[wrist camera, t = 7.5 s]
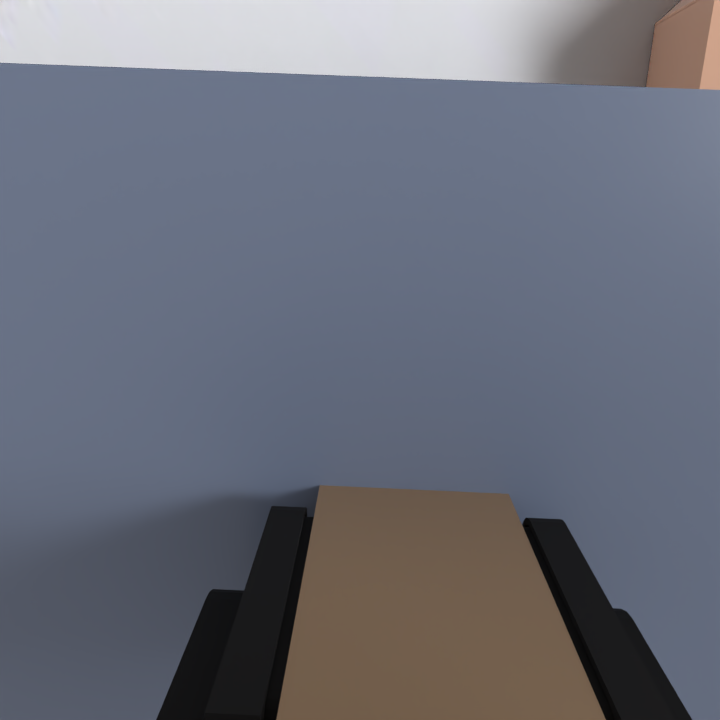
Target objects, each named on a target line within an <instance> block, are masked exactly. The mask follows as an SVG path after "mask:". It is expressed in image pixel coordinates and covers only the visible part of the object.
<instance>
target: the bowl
mask: <svg viewBox="0 0 720 720" xmlns="http://www.w3.org/2000/svg"><path fill="white" fill-rule="evenodd" d="M654 26H655V29H654V36H653V43H652V49H651V56H650V63H649V70H648V76H647V83H646V87H655V88H682V89H709V90H720V0H681V1H680V2H679V3H678V4H677V5H676V6H674V7H673V8H672V9H671V10H670V11H669V12H668V13H667V14H666V15H665V16H664V17H663V18H661V19H660V20H659V21H658V22H656V23H655V25H654Z"/></svg>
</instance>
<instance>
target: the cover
mask: <svg viewBox="0 0 720 720" xmlns="http://www.w3.org/2000/svg"><path fill="white" fill-rule="evenodd" d="M272 506H287V507H306V508H307V517H314V519H313V524H312V530H311V535H310V541H309V546H308V551H307V557H306V562H305V568H304V573H303V578H302V584H301V589H300V595H299V600H298V605H297V611H296V616H295V622H294V627H293V632H292V638H291V643H290V649H289V654H288V660H287V665H286V670H285V676H284V681H283V687H282V692H281V697H280V703H279V708H278V714H277V719H276V720H606V719H605V717H604V714H603V712H602V710H601V707H600V705H599V703H598V700H597V698H596V696H595V693H594V691H593V689H592V686H591V684H590V682H589V679H588V677H587V675H586V672H585V670H584V668H583V665H582V663H581V661H580V658H579V656H578V654H577V652H576V649H575V647H574V645H573V642H572V640H571V638H570V635H569V633H568V631H567V628H566V626H565V624H564V621H563V619H562V617H561V614H560V612H559V610H558V607H557V605H556V603H555V600H554V598H553V596H552V593H551V591H550V589H549V586H548V584H547V582H546V579H545V577H544V575H543V572H542V570H541V568H540V565H539V563H538V561H537V559H536V556H535V554H534V552H533V549H532V547H531V545H530V542H529V540H528V538H527V535H526V533H525V531H524V528H523V526H522V524H523V521H524V519H525V518H547V519H562V520H563V521H564V522H565V523H566V525H567V527H568V529H569V531H570V532H571V534H572V536H573V538H574V539H575V541H576V543H577V545H578V547H579V548H580V550H581V552H582V554H583V556H584V557H585V559H586V561H587V563H588V565H589V566H590V568H591V570H592V572H593V573H594V575H595V577H596V579H597V581H598V582H599V584H600V586H601V588H602V590H603V591H604V593H605V595H606V597H607V599H608V600H609V602H610V604H611V606H612V608H617V609H623V610H625V611H627V612H628V613H629V615H630V616H631V617H632V619H633V620H634V622H635V624H636V625H637V627H638V629H639V630H640V632H641V634H642V635H643V637H644V639H645V641H646V642H647V644H648V646H649V647H650V649H651V651H652V652H653V654H654V656H655V657H656V659H657V661H658V663H659V664H660V666H661V668H662V669H663V671H664V673H665V674H666V676H667V678H668V679H669V681H670V683H671V685H672V686H673V688H674V690H675V691H676V693H677V695H678V696H679V698H680V700H681V702H682V703H683V705H684V707H685V708H686V710H687V712H688V713H689V715H690V717H691V718H692V720H720V90H709V89H682V88H655V87H629V86H602V85H575V84H549V83H522V82H495V81H469V80H442V79H415V78H389V77H362V76H335V75H309V74H282V73H255V72H229V71H202V70H175V69H149V68H122V67H95V66H69V65H42V64H16V63H0V720H156V719H157V717H158V714H159V712H160V709H161V707H162V704H163V702H164V700H165V697H166V695H167V692H168V690H169V687H170V685H171V682H172V680H173V678H174V675H175V673H176V670H177V668H178V665H179V663H180V660H181V658H182V656H183V653H184V651H185V648H186V646H187V643H188V641H189V638H190V636H191V634H192V631H193V629H194V626H195V624H196V621H197V619H198V616H199V614H200V612H201V609H202V607H203V604H204V602H205V599H206V597H207V595H208V593H209V591H211V590H212V589H223V590H244V589H245V586H246V583H247V580H248V577H249V574H250V571H251V568H252V564H253V561H254V558H255V555H256V552H257V549H258V546H259V543H260V540H261V537H262V534H263V530H264V527H265V524H266V521H267V518H268V515H269V512H270V509H271V507H272Z"/></svg>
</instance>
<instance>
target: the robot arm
mask: <svg viewBox="0 0 720 720" xmlns="http://www.w3.org/2000/svg"><path fill="white" fill-rule="evenodd" d="M313 519H314V517H307V508H306V507H287V506H272V507H271V509H270V512H269V515H268V518H267V521H266V524H265V527H264V530H263V534H262V537H261V540H260V543H259V546H258V549H257V552H256V555H255V558H254V561H253V564H252V568H251V571H250V574H249V577H248V580H247V583H246V586H245V589H244V590H223V589H212V590H211V591H209V593H208V595H207V597H206V599H205V602H204V604H203V607H202V609H201V612H200V614H199V616H198V619H197V621H196V624H195V626H194V629H193V631H192V634H191V636H190V638H189V641H188V643H187V646H186V648H185V651H184V653H183V656H182V658H181V660H180V663H179V665H178V668H177V670H176V673H175V675H174V678H173V680H172V682H171V685H170V687H169V690H168V692H167V695H166V697H165V700H164V702H163V704H162V707H161V709H160V712H159V714H158V717H157V719H156V720H276V719H277V714H278V708H279V703H280V697H281V692H282V687H283V681H284V676H285V670H286V665H287V660H288V654H289V649H290V643H291V638H292V632H293V627H294V622H295V616H296V611H297V605H298V600H299V595H300V589H301V584H302V578H303V573H304V568H305V562H306V557H307V551H308V546H309V541H310V535H311V530H312V524H313ZM522 526H523V528H524V531H525V533H526V535H527V538H528V540H529V542H530V545H531V547H532V549H533V552H534V554H535V556H536V559H537V561H538V563H539V565H540V568H541V570H542V572H543V575H544V577H545V579H546V582H547V584H548V586H549V589H550V591H551V593H552V596H553V598H554V600H555V603H556V605H557V607H558V610H559V612H560V614H561V617H562V619H563V621H564V624H565V626H566V628H567V631H568V633H569V635H570V638H571V640H572V642H573V645H574V647H575V649H576V652H577V654H578V656H579V658H580V661H581V663H582V665H583V668H584V670H585V672H586V675H587V677H588V679H589V682H590V684H591V686H592V689H593V691H594V693H595V696H596V698H597V700H598V703H599V705H600V707H601V710H602V712H603V714H604V717H605V719H606V720H692V718H691V717H690V715H689V713H688V712H687V710H686V708H685V707H684V705H683V703H682V702H681V700H680V698H679V696H678V695H677V693H676V691H675V690H674V688H673V686H672V685H671V683H670V681H669V679H668V678H667V676H666V674H665V673H664V671H663V669H662V668H661V666H660V664H659V663H658V661H657V659H656V657H655V656H654V654H653V652H652V651H651V649H650V647H649V646H648V644H647V642H646V641H645V639H644V637H643V635H642V634H641V632H640V630H639V629H638V627H637V625H636V624H635V622H634V620H633V619H632V617H631V616H630V615H629V613H628V612H627V611H625V610H623V609H617V608H612V606H611V604H610V602H609V600H608V599H607V597H606V595H605V593H604V591H603V590H602V588H601V586H600V584H599V582H598V581H597V579H596V577H595V575H594V573H593V572H592V570H591V568H590V566H589V565H588V563H587V561H586V559H585V557H584V556H583V554H582V552H581V550H580V548H579V547H578V545H577V543H576V541H575V539H574V538H573V536H572V534H571V532H570V531H569V529H568V527H567V525H566V523H565V522H564V521H563V520H562V519H547V518H525V519H524V521H523V524H522Z"/></svg>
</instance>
